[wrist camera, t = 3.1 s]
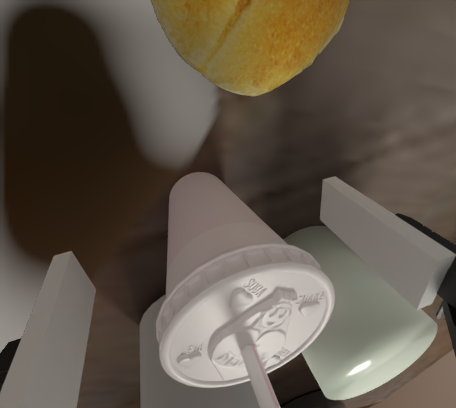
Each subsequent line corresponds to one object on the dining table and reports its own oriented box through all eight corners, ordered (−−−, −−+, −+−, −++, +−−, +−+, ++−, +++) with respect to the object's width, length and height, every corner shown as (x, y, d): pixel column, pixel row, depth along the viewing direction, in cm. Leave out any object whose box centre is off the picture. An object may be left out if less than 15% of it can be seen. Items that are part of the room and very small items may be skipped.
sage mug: (340, 285, 27) (417, 375, 20) (270, 316, 26) (323, 422, 19) (343, 212, 21) (452, 298, 14) (255, 247, 20) (322, 359, 13)
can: (124, 336, 21) (114, 587, 11) (164, 269, 19) (194, 512, 9) (203, 341, 25) (247, 536, 15) (244, 286, 22) (329, 472, 13)
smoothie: (130, 225, 16) (119, 656, 5) (171, 132, 14) (329, 503, 3) (218, 246, 19) (339, 541, 8) (262, 172, 17) (519, 427, 6)
